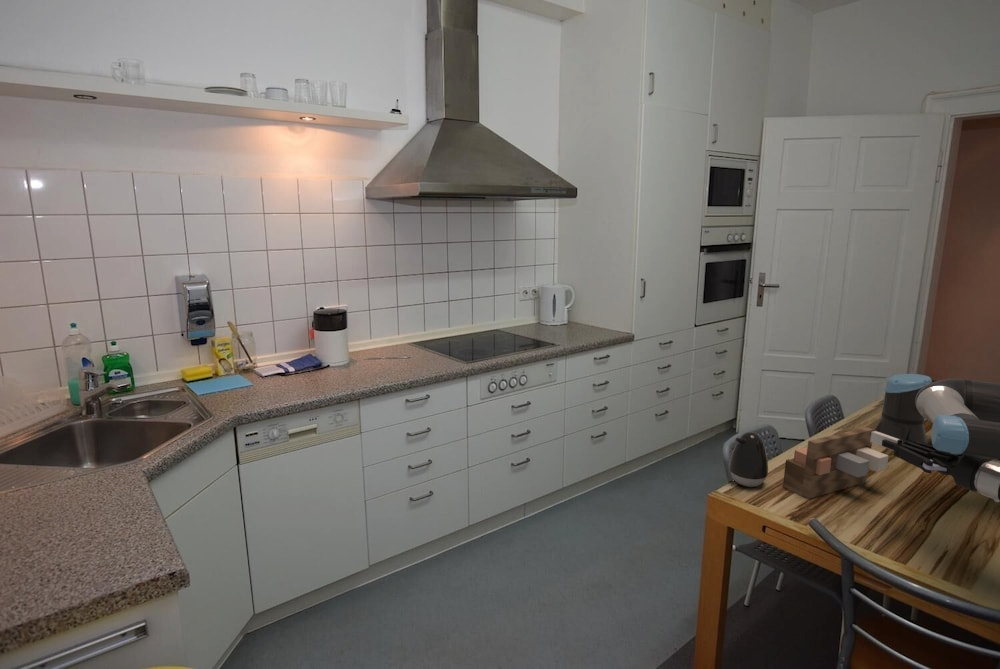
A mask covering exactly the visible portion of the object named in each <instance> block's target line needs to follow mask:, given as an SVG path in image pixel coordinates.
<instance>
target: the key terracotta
mask: <svg viewBox="0 0 1000 669" xmlns="http://www.w3.org/2000/svg"><path fill="white" fill-rule="evenodd" d="M806 455H807V447H801V448H798V449H795V450H794V454H793V461H794V462H796V463H799V464H801V465H803V466H805V464H806ZM830 466H831V458H829V457H826V456H825V457H821V458H817V462H816V470H815V473H816V474H818V475H822V474H826V473H830Z"/></svg>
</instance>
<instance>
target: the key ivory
mask: <svg viewBox="0 0 1000 669" xmlns="http://www.w3.org/2000/svg"><path fill="white" fill-rule="evenodd" d="M856 456H859V457H861V458H864V459H866V460H869V468H868V470H871V471H873V472H876V473H879V472H882V471H885V470H887V469H888V463H889V455H888V454H885V453H883V452H880V451H878V450H875V449H872V448H871V449H870V448H867V447H860V448H857V449H856Z"/></svg>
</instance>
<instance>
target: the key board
mask: <svg viewBox="0 0 1000 669" xmlns="http://www.w3.org/2000/svg"><path fill="white" fill-rule="evenodd" d="M874 429H875V428H871V427H868V426H867V427H862V428H857V429H854V430H849V431H848V430H847V431H845V432H841V433H837V434H833V435H828V436H823V437H819V438H816V439H811V440H808V441H807V447H806V448H807V455H806V464H805V466H803V465H801V464H799V463H796V462H794V460H792V459H789V458H788V459H785V467H784V473H783V475H784V476H783V481H782V487H783V488H785V489H787V490H789V491H790V492H793V493H795V494H797V495H799V496H801V497H803V498H805V499H807V500H811V499H814V498H818V497H820V496H824V495H828V494H830V493H834V492H837V491H841V490H843V489H844V490H845V489H848V488H851V487H854V485H855V486H857V484H858V485H861V484H864V482H865V483H866V482H867V479H868V478H867V477H868V475H865V476H861V477H858V478H857V477H855V476H853V475H850V474H848V473H846V472H844V471H841V470H839V469H837V468H835V466H836V458H837V453H841V452H845V451H846V452H848V453H851V454H854V455H856V449H857V448H860V447H867V448H870V449H872V445H873V443H871V442H870V440H871V433H872V432H873V431H874ZM825 456H826V457H829V458H831V466H830V473H826V474H822V475H818V474H816V473H815V470H816V462H817V458H821V457H825ZM847 487H848V488H847Z"/></svg>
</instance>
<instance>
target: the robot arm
mask: <svg viewBox="0 0 1000 669" xmlns="http://www.w3.org/2000/svg"><path fill="white" fill-rule="evenodd" d="M882 404H883V405H882V410H881V414H880V415H881V416H880V418H879V420H878V422H877V423H876V425H875V427H874V428H873V429H874V431H873V432H872V433H871V440H870V442H871V443H872V444H874V445H876V446H880V447H883V448H884V449H885V448H886V449H888V450H890V451H893V456H894V457H897V458H899V459H901V460H903V461H904V462H907V463H909V464H911V465H912V466H913V467H914V466H915V467H916V468H919V469H920V470H922V471H923V472H925V473H926V474H932V471H937V472H938V473H940V474H942V475H946V476H947V475H948V476H951V477H952V478H953V480H954V483H955V484H956V485H957V486H958V487H961V488H963V489H966V490H968V491H970V492H974V493H978V494H980V495H982V496H985V497H987V498H990V499H992V500H993V502H995V503H1000V462H999V461H1000V383H996V382H990V381H989V382H987V381H980V380H979V381H978V380H970V379H969V380H968V379H962V378H946V379H945V378H944V379H940V380H935V381H933V380H932V378H931V377H930V376H928V375H925V374H917V373H900V374H899V373H897V374H894V375H892V376H890V377H888V378H887V380H886V384H885V388H884V398H883V403H882ZM925 420H927V421H929V422H931V423H932V426H931V434H930V435H931V436H930V438H931V439H930V441H931V444H930V443H928V438H927V434H926V429H925Z"/></svg>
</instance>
